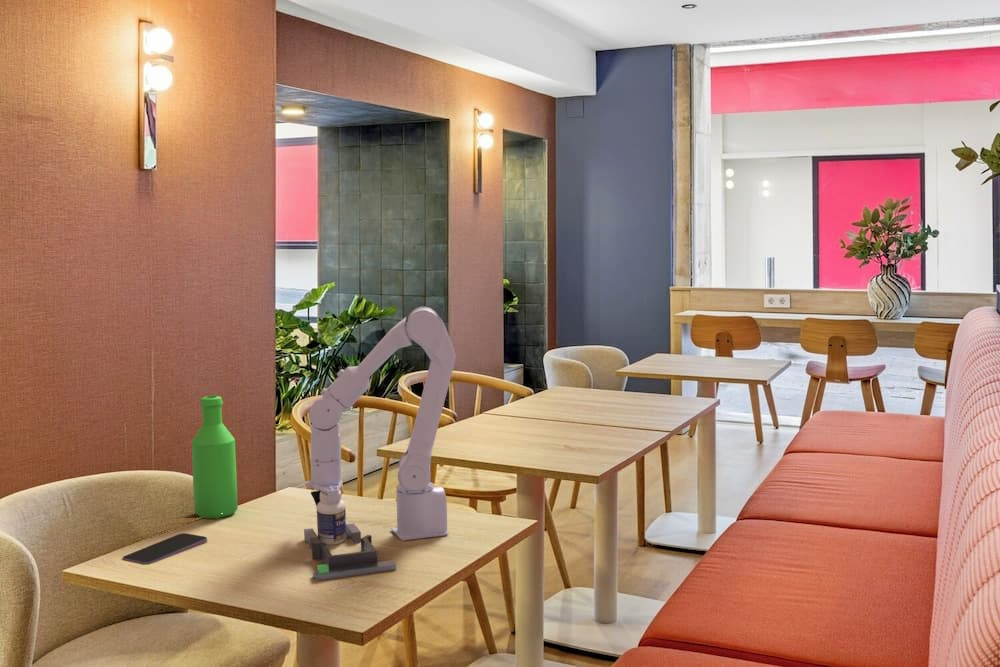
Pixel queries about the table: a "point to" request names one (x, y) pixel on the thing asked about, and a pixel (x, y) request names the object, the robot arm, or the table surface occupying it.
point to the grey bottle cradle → (348, 561)
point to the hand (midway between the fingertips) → (326, 527)
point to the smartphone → (166, 548)
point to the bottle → (214, 464)
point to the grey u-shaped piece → (351, 532)
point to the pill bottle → (331, 520)
